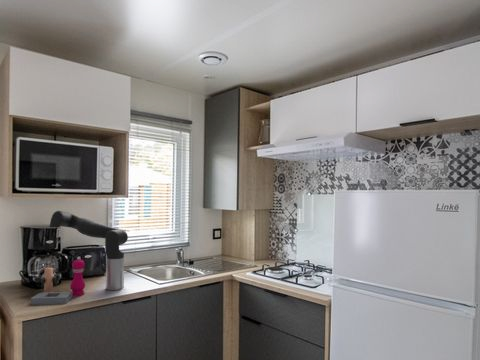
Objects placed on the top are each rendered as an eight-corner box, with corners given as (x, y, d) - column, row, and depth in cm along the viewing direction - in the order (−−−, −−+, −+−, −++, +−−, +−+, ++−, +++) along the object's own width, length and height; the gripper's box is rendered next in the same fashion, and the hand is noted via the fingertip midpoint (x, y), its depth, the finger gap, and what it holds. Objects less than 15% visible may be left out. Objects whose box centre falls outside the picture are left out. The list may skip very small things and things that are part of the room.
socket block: (72, 297, 176) (72, 291, 176) (66, 303, 166) (66, 297, 167) (39, 298, 174) (39, 292, 174) (30, 304, 164) (30, 298, 164)
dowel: (53, 293, 182) (54, 267, 183) (50, 295, 178) (51, 269, 179) (45, 293, 181) (46, 267, 182) (42, 296, 177) (43, 269, 178)
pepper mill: (71, 297, 176) (72, 258, 177) (68, 293, 182) (70, 256, 183) (86, 295, 181) (87, 257, 181) (83, 291, 186) (84, 255, 187)
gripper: (31, 269, 188) (33, 275, 174) (60, 266, 196) (64, 271, 182) (30, 282, 188) (33, 290, 174) (59, 279, 196) (64, 286, 182)
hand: (49, 280), depth 178 cm, fingers closed on dowel, 4 cm apart
